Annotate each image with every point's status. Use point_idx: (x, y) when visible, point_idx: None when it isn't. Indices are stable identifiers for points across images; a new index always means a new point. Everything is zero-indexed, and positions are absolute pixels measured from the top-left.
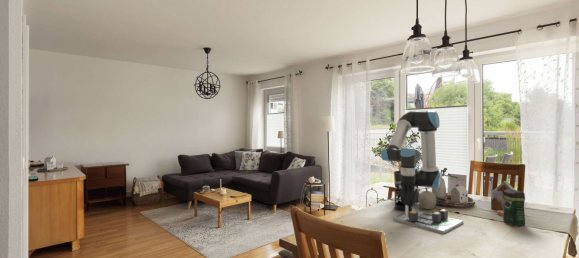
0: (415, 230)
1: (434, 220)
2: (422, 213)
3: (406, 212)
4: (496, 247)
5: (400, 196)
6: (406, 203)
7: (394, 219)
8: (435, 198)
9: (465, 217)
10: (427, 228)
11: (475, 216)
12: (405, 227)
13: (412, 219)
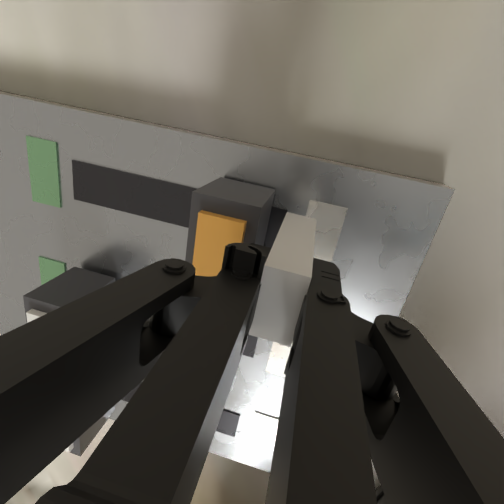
0: (161, 4)
1: (91, 277)
2: (246, 430)
3: (300, 231)
4: None
5: (483, 449)
6: (300, 319)
7: (435, 183)
8: None
9: (66, 466)
10: (93, 111)
11: (45, 492)
12: (269, 28)
13: (232, 183)
